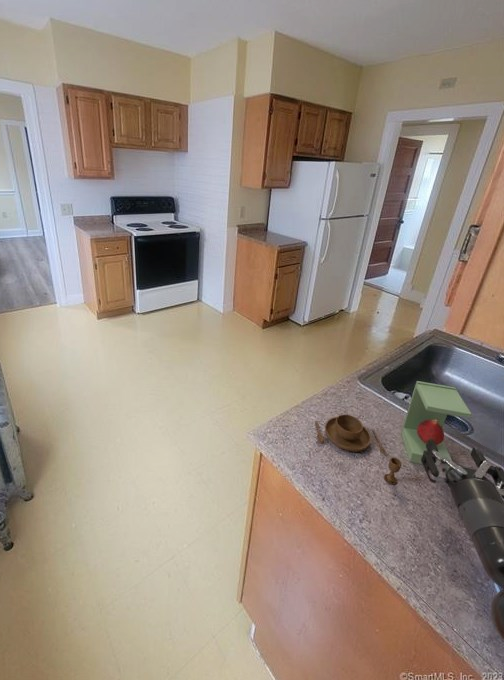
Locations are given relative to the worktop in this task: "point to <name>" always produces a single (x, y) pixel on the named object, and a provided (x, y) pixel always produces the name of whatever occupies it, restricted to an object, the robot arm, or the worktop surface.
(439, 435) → the onion
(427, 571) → the worktop surface
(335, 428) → the place setting
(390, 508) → the worktop surface
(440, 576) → the worktop surface
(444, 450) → the shelf
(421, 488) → the worktop surface
